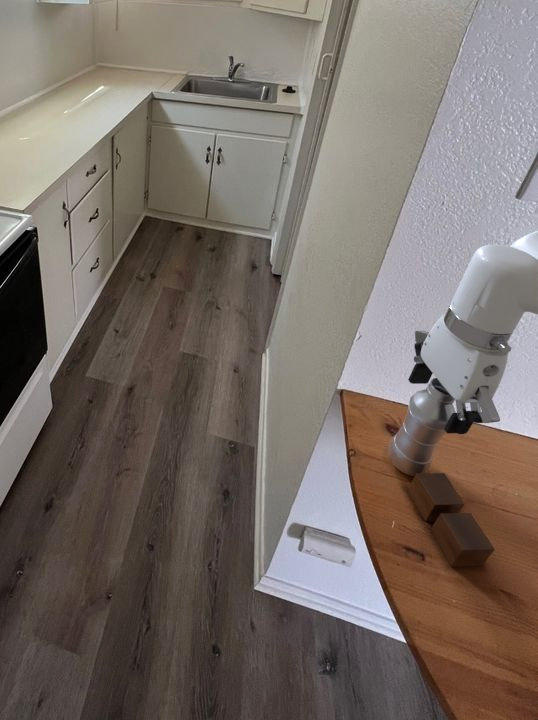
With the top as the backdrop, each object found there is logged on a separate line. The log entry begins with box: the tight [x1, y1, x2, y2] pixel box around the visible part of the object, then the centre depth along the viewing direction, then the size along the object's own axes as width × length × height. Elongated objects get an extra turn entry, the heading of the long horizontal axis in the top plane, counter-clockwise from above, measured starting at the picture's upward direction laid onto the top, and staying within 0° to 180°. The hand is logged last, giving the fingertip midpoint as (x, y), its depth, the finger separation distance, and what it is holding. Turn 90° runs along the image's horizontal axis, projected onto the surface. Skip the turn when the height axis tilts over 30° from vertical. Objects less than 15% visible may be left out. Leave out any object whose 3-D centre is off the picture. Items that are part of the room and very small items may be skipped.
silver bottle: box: [387, 377, 457, 477], centre depth 72 cm, size 6×7×20 cm
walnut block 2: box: [429, 512, 496, 567], centre depth 64 cm, size 5×5×5 cm
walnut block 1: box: [406, 472, 466, 522], centre depth 70 cm, size 5×5×5 cm
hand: (435, 405), depth 70 cm, fingers open, 8 cm apart
